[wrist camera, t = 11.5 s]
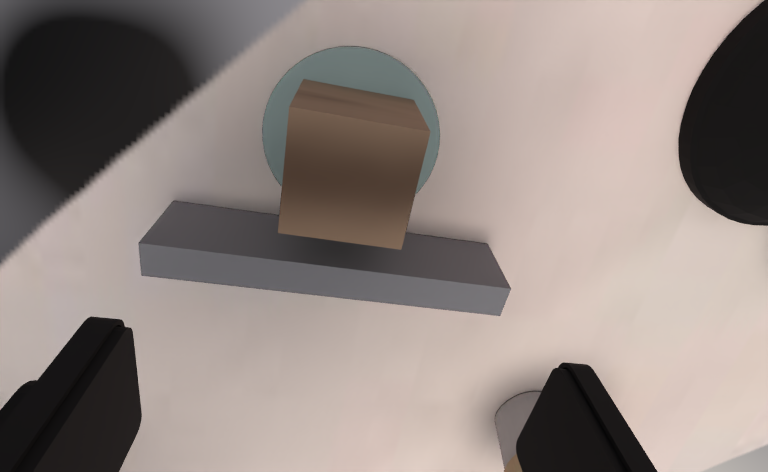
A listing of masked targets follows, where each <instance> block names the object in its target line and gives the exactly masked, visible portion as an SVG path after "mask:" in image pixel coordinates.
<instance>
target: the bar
mask: <svg viewBox="0 0 768 472" xmlns="http://www.w3.org/2000/svg"><path fill="white" fill-rule="evenodd" d="M278 225H279V215H273V214H265V213H258V212H251V211H244V210H236V209H229V208H222V207H214V206H207V205H200V204H193V203H185V202H178V201H173V202H172V203H171V204H170V205H169V207H168V208H167V209H166V210H165V212H164V213H163V214H162V215H161V216H160V218H159V219H158V220H157V221H156V222H155V224H154V225H153V226H152V227H151V229H150V230H149V231H148V232H147V233H146V235H145V236H144V237H143V238H142V239H141V241H140V242H139V254H140V265H141V275H142V276H150V277H159V278H168V279H177V280H186V281H195V282H204V283H212V284H221V285H230V286H239V287H248V288H257V289H266V290H274V291H283V292H292V293H301V294H310V295H319V296H328V297H336V298H345V299H354V300H363V301H372V302H381V303H390V304H398V305H407V306H416V307H425V308H434V309H443V310H452V311H460V312H469V313H478V314H487V315H496V316H500V315H501V312H502V310H503V307H504V305H505V302H506V300H507V297H508V295H509V293H510V290H511V288H510V286H509V284H508V282H507V280H506V278H505V276H504V274H503V272H502V270H501V269H500V267H499V265H498V263H497V261H496V259H495V257H494V255H493V253H492V251H491V249H490V247H489V245H488V244H484V243H477V242H470V241H462V240H455V239H448V238H440V237H433V236H426V235H419V234H411V233H405V237H404V241H403V245H402V249H401V250H399V249H392V248H385V247H377V246H370V245H362V244H355V243H348V242H340V241H333V240H326V239H318V238H311V237H304V236H296V235H289V234H282V233H278Z"/></svg>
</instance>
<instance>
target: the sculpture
mask: <svg viewBox="0 0 768 472" xmlns="http://www.w3.org/2000/svg"><path fill="white" fill-rule="evenodd" d="M679 158H680V166H681V170H682V173H683V176H684V179H685V181H686V183H687V184H688V186H689V188H690V190H691V191H692V192H693V193H694V195H695V196H696V197H697V198H698V199H699V200H700V201H701V202H702V203H704V204H705V205H706V206H707V207H709V208H711V209H712V210H714V211H715V212H717V213H719V214H721V215H722V216H724V217H726V218H728V219H730V220H734V221H737V222H740V223H744V224H750V225H766V226H768V0H765V1H764V2H763V3H762V4H760V5H759V6H758V7H757V8H756V9H755V10H754V11H752V12H751V13H750V14H749V15H748V16H747V17H745V18H744V19H743V20H742V21H741V22H740V24H739V25H738V26H737V27H736V28H735V29H734V30H733V31H732V32H731V34H730V35H729V36H728V37H727V38H726V40H725V41H724V42H723V43H722V45H721V46H720V47H719V48H718V50H717V51H716V52H715V53H714V55H713V56H712V58H711V59H710V61H709V63H708V64H707V66H706V67H705V69H704V70H703V72H702V74H701V76H700V77H699V79H698V81H697V83H696V85H695V86H694V88H693V90H692V93H691V96H690V98H689V101H688V104H687V106H686V110H685V113H684V117H683V120H682V123H681V129H680V135H679Z"/></svg>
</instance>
